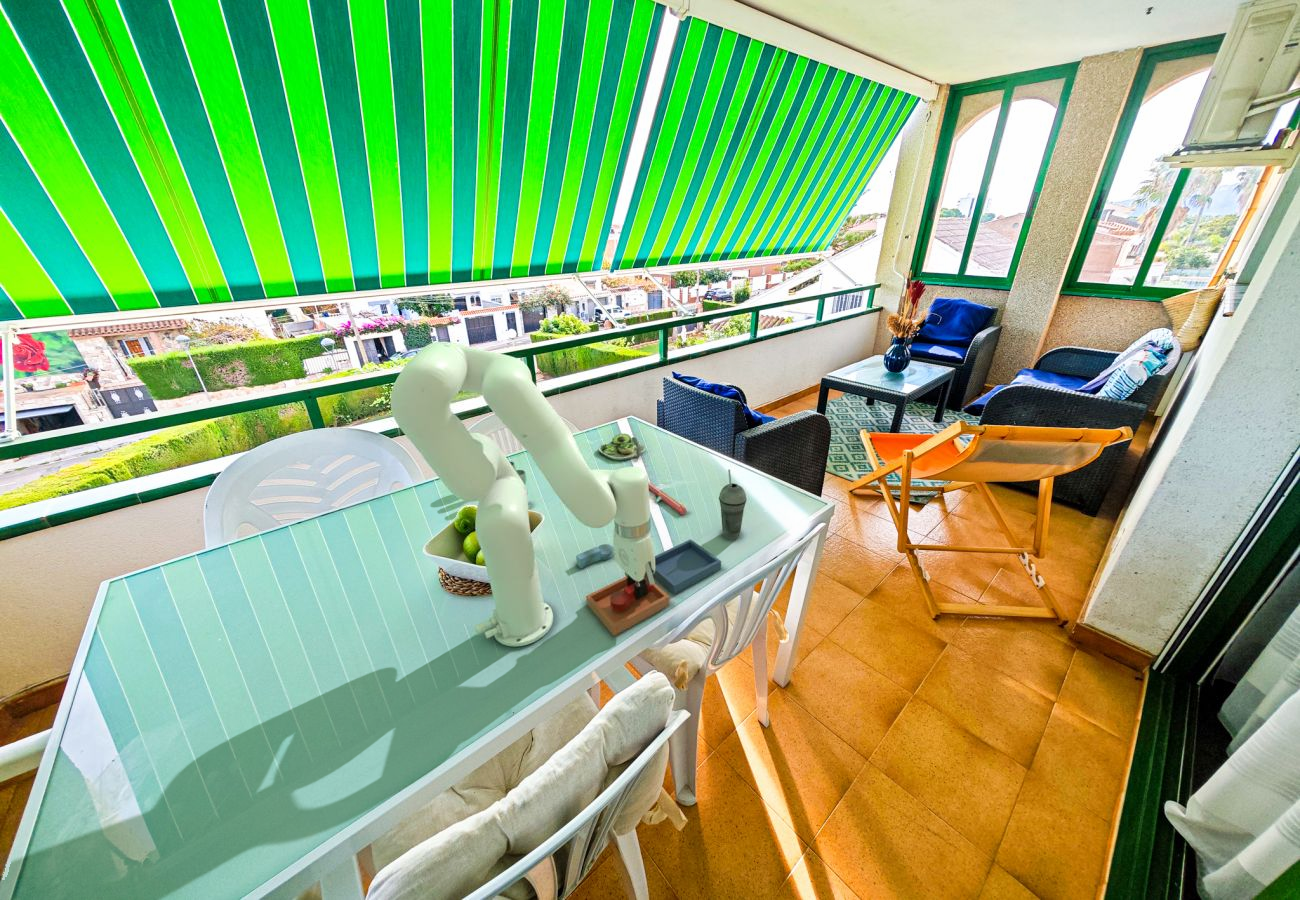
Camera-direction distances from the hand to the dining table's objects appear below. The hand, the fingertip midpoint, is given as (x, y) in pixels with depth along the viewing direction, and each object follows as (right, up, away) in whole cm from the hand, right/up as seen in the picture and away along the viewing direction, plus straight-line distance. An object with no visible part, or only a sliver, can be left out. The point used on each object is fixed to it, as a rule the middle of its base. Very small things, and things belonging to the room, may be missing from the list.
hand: (637, 592), depth 103 cm
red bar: (+6, +17, +42) cm, 45 cm away
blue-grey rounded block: (-12, +4, +15) cm, 19 cm away
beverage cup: (+25, +9, +23) cm, 35 cm away
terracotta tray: (-2, -3, 0) cm, 3 cm away
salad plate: (-8, +32, +76) cm, 83 cm away
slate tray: (+11, +3, +10) cm, 15 cm away
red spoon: (-1, -1, 0) cm, 2 cm away
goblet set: (-46, +17, +47) cm, 68 cm away
